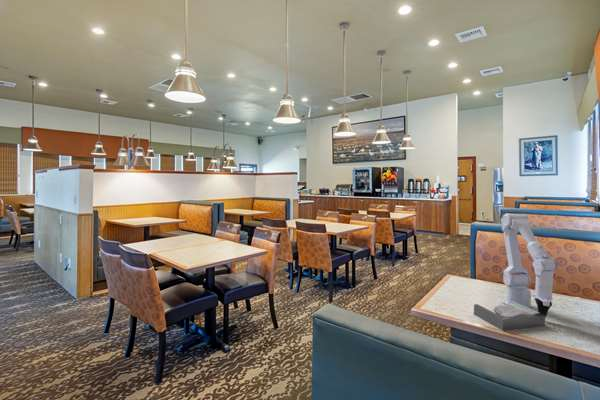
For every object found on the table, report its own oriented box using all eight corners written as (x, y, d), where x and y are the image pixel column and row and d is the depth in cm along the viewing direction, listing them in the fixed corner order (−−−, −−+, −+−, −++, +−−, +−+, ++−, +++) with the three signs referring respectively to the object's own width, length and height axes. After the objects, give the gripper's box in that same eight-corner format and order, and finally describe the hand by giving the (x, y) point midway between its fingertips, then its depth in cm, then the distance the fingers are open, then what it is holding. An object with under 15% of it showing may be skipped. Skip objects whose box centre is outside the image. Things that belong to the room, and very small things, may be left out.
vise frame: (512, 310, 142) (512, 301, 142) (544, 325, 127) (545, 315, 127) (473, 314, 138) (474, 304, 138) (502, 330, 123) (503, 319, 123)
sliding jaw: (512, 310, 142) (512, 301, 142) (539, 322, 129) (539, 312, 129) (508, 310, 142) (508, 301, 141) (534, 323, 129) (535, 313, 129)
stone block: (512, 328, 129) (532, 322, 130) (511, 317, 128) (530, 311, 130) (490, 317, 140) (508, 311, 142) (488, 307, 140) (507, 301, 142)
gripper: (529, 279, 140) (528, 308, 140) (535, 289, 127) (533, 321, 128) (549, 282, 136) (547, 311, 137) (556, 292, 123) (555, 325, 124)
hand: (542, 316), depth 132 cm, fingers closed
